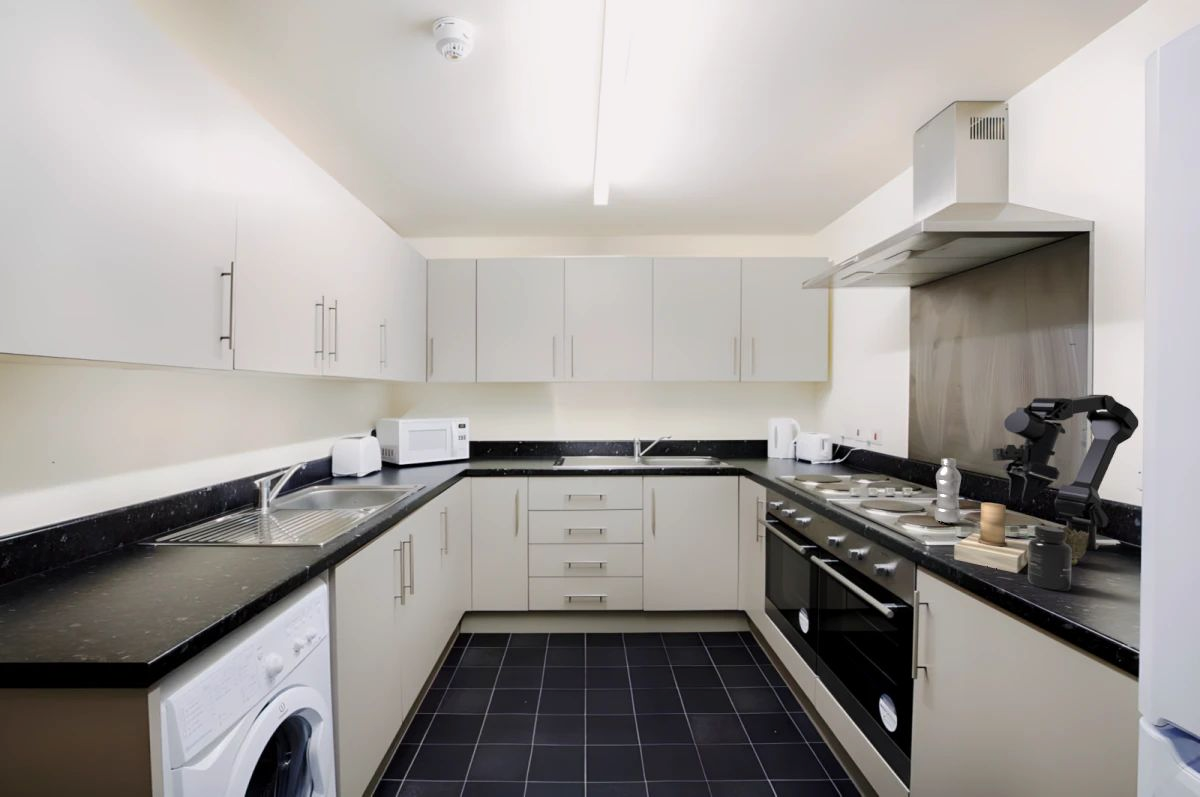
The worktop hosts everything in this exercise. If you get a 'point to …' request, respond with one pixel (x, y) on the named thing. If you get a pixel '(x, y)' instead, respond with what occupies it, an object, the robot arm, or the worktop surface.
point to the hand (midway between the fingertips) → (1017, 501)
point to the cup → (1076, 543)
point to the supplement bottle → (1050, 559)
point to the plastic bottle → (947, 492)
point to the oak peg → (992, 525)
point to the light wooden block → (992, 554)
